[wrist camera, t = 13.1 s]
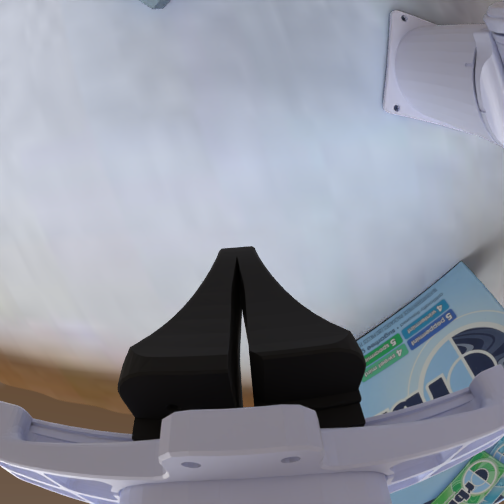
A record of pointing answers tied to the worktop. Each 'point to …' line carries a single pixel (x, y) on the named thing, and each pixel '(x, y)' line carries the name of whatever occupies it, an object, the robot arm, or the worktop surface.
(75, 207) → the worktop surface
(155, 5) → the placed domino
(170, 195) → the worktop surface
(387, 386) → the gum box
